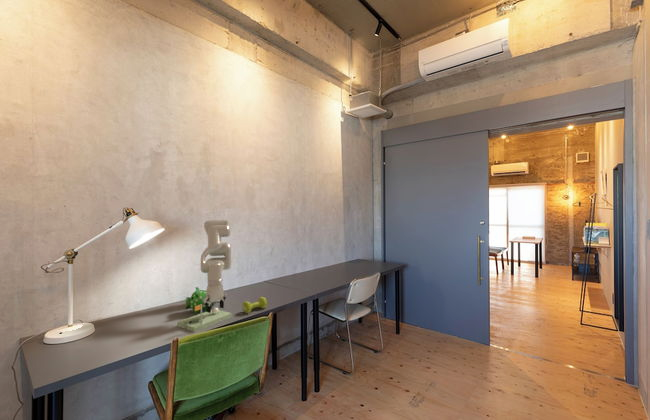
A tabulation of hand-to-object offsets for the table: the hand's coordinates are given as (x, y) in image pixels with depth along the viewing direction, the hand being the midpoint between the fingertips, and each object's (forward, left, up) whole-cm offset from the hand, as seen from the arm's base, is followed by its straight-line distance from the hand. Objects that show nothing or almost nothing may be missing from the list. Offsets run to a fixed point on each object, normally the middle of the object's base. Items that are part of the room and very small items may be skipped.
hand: (215, 309), depth 183 cm
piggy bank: (-18, +3, -5) cm, 19 cm away
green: (0, -7, -5) cm, 8 cm away
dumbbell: (+11, +23, -5) cm, 26 cm away
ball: (0, 0, -1) cm, 1 cm away
